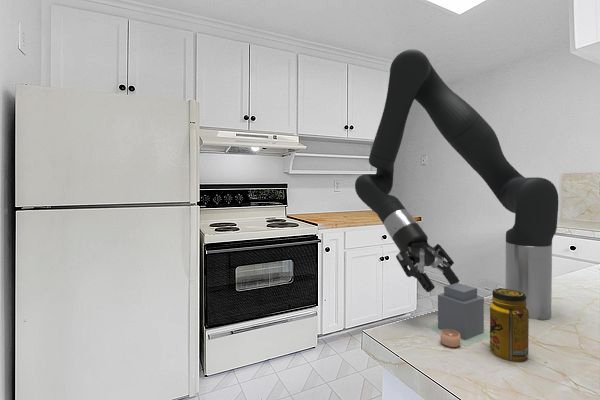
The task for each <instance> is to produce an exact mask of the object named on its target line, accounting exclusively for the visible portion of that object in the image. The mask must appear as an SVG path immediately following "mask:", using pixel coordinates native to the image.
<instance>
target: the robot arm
mask: <svg viewBox="0 0 600 400" xmlns="http://www.w3.org/2000/svg"><path fill="white" fill-rule="evenodd" d="M388 78H389V79H388V84H387V91H386V92H387V93H386V99H385V103H384V106H383V107H384V108H383V110H382V111H383V112H382V115H381V118H380V120H379V124H378V128H377V130H376V134H375V136H374V140H373V143H372V147H371V150H370V153H369V156H368V164H369V165H370V166H371V167H373V168H375V169H376V172H375V174H374V173H365V174H361V175H359V176H357V178H356V180H355V182H354V189H355V190H354V191H355V193H356V195H357V197H358V198H359V199H360V200H361V201H362V202H363V203H364V205H366V206H367V207H368V208H369V209H371V211H373V212H375V214H376V215H377V216H378V218H379V219H380V221H381V223H382V225H383V226H384V228H385V230H386V232H387V233H388V235H389V236H390V238H391V239H392V241H393V243H394V245H396V247H397V248H398V250H399V252H398V253H397V254H396V256H395V258H396V260H397V261H398V262H397V263H398V264H399V265H400V267H401V269H402V270H403V272H404V273H405V275H406V277H408V278H411V277H413V278H414V279H417V281H418V282H419V284H420V286H421V287H422V288H423V290H425V292H426V293H431V292H432V291H433V290H435V287H436V286H435V285H434V283H433V282H432V280H431V279H430V277H429V276H428V275H427V273H426V272H425V268H424V267H431V268H433V269H437V270H439V271H440V272H442V275H443V276H444V278H445V279H446V280H447V281H448V283H449V285H451V284H455V283H460V279H459V277H458V276H457V274H456V273H455V272H454V270H453V269H452V265H454V264H455V262H454V261H453V259H452V258H451V257H450V255H449V254H448V253H447V252H446V251H445V250H444V248H443V247H442V245H440V244H439V243H436V245H434V246H431V245H430V244H429V243H428V242H429V241H428V240H429V239H428V235H427V234H426V232H425V231H424V230H423V228H422V226H420V225H419V223H418V222H417V220H416V219H415V218H414V216H413V215H412V214H410V212H409V211H408V210H407V208H405V206H404V205H403V204H402V202H401V201H400V199H399V198H398V197H396V196H395V195H392V194H390V193H391V191H392V189H393V185H394V171H395V162H396V159H397V156H398V154H399V151H400V146H401V145H402V140H403V136H404V132H405V127H406V123H407V120H408V116H409V114H410V110H411V107H412V106H413V102H414V100H415V101H416V102H417V103H418V104H419V105H421V106H422V108H423V109H424V110H425V112H426V113H427V114H428V116H429V118H430V119H431V121H432V123H433V124H434V125H435V128H437V130H438V131H439V133H440V134H441V135H442V137H443V138H444V139H445V140H446V142H447V143H448V144H449V145H450V146H451V147H452V148H453V149H454V150H455V151H456V152H457V153H458V154H459V155H460V157H461V158H463V160H464V161H465V162H466V163H467V164H468V165H469V166H470V167H471V169H473V170H474V171H475V172H476V173H477V174H478V176H480V177H481V178H482V179H483V181H484V182H485V183H486V185H487V186H488V188H489V189H490V190H491V192H492V193H493V194H494V196H495V198H497V199H496V200H497V201H499V203H500V204H501V206H503V208H504V209H506V210H507V211H509V212H510V213H513V214H514V223H513V226H512V227H511V228H509V229H508V230H507V231H506V233H505V288H506V289H513V290H517V291H520V292H522V293H524V294H525V296H526V308H527V309H528V312H529V320H530V319H532V320H538V321H539V320H549V319H551V318H552V297H553V296H552V295H553V294H552V291H553V289H552V286H553V282H552V280H553V274H552V273H553V271H552V270H553V264H552V263H553V238H554V236H555V234H556V232H557V230H558V229H557V228H558V218H559V217H558V216H559V193H558V189H557V187H556V186H555V183H553V182H552V181H550V180H549V179H547V178H544V177H539V176H537V177H536V176H535V177H532V176H531V177H525V176H523V175H522V174H521V173H520V172H519V171H518V170H517V169H516V168H514V166H513V165H512V164H511V163H510V162H509V161H508V160H507V158H506V156H505V155H504V153H503V152H504V151H503V150H502V147H501V144H500V140H499V138H498V135H497V134H496V132H495V131H494V129H493V128H492V126H491V125H490V124H489V123H488V121H486V120H485V119H484V117H483V116H482V115H481V114H480V113H479V112H478V111H477V110H476V109H475V108H474V107H472V106H471V104H469V103H468V102H467V101H466V100H465V99H463V98H462V97H461V96H459V95H458V94H457V93H456V92H454V91H453V90H452V89H451V88H450V86H448V85H447V83H445V81H444V80H443V79H442V78H441V76H440V75H439V73H437V71H436V70H435V68H434V67H433V65H432V63H431V62H430V59H428V57H427V55H426V54H425V53H424V52H423V51H421V50H418V49H412V48H411V49H410V48H409V49H407V50H406V49H405V50H403V51H402V52H400V53H399V54H397V55H396V56H395V58H393V60H392V62H391V65H390V68H389V77H388ZM440 264H441V265H440Z"/></svg>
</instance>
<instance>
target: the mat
mask: <svg viewBox="0 0 600 400" xmlns="http://www.w3.org/2000/svg"><path fill="white" fill-rule="evenodd" d="M426 328H427V329H429V330H431V331H433V332H435V333H438V334H439V335H440V331H441V330H440V329H438V322H436V323H433V324H430V325H427V326H426ZM488 339H490V330H488V329H484V333H482V334H479V335H477V336H474V337H472V338H470V339H467V340H463V339H461V338H460V345H462V346H465V347H469V346H472V345H474V344H478V343H479V342H482V341H485V340H488Z"/></svg>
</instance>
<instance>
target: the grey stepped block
mask: <svg viewBox="0 0 600 400" xmlns="http://www.w3.org/2000/svg"><path fill="white" fill-rule="evenodd" d="M484 310H485V298H484V297H482V296H480V295H479V296H478V288H477V287H474V286H471V285H467V284H463V283H460V282H459V283H455V284H451V285H450V284H448V285H444V287H443V293H440V294H437V323H438V329H440V330H443V329H451V330H455V331H457V332H459V333H460V338H461V339H463V340H467V339H470V338H472V337H474V336H477V335H479V334H482V333H484V328H485V322H484V321H485V315H484V314H485V311H484Z"/></svg>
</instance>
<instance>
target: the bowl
mask: <svg viewBox="0 0 600 400" xmlns="http://www.w3.org/2000/svg"><path fill="white" fill-rule="evenodd" d="M439 335H440V340H439V341H440V343H441V344H443V346H446V347H449V348H458V347H460V346H461V344H460V333H459V332H457V331H455V330H451V329H443V330H441V331H440V334H439Z"/></svg>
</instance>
